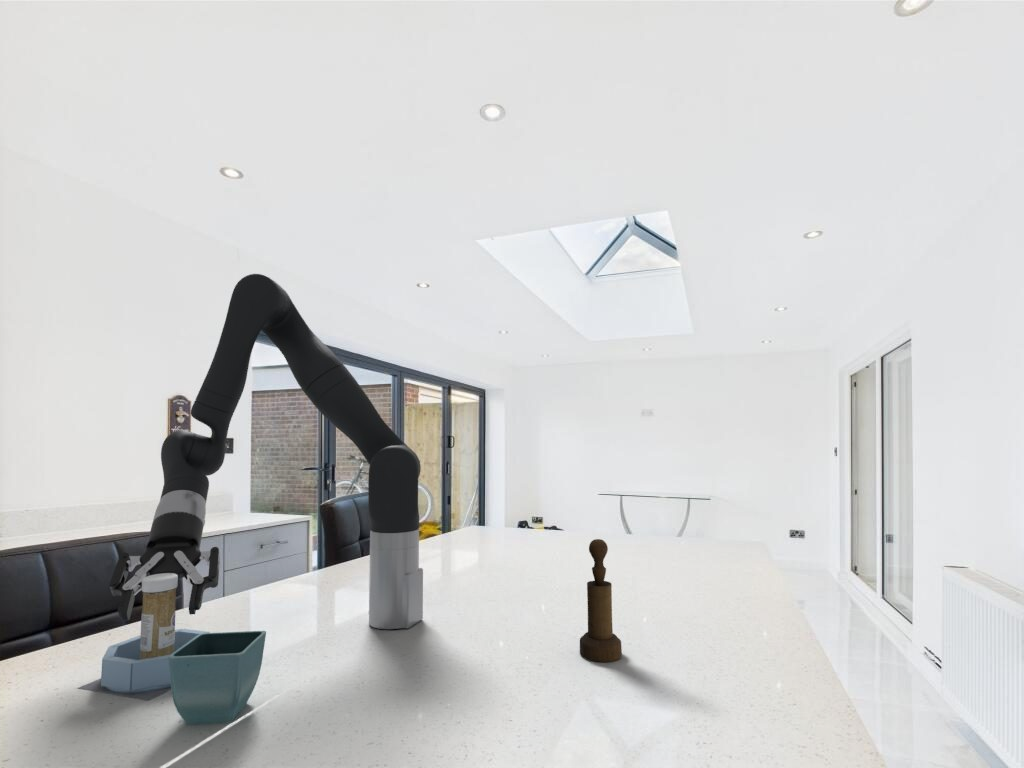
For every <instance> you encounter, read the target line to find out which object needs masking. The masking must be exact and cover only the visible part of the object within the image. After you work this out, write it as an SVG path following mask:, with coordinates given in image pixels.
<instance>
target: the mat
mask: <svg viewBox="0 0 1024 768" xmlns="http://www.w3.org/2000/svg"><path fill="white" fill-rule="evenodd" d="M77 689H80V690H86V691H91V692H95V693H96V692H97V693H100V694H101V693H103V694H106V695H107V694H109V695H113V696H119V697H124V698H131V699H137V700H142V701H151V700H153V699H155V698H157V697H160V696H161V695H164V694H165V693H167V692H170V691H171V687H169V688H165V689H161V690H155V691H150V692H142V693H116V692H112V691H109V690H107V689H106V688H105V687H104V686H101V678H99V679H95V680H94V681H90V682H89V683H87V684H84V685H81V686H79V687H77Z"/></svg>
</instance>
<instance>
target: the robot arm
mask: <svg viewBox="0 0 1024 768" xmlns="http://www.w3.org/2000/svg"><path fill="white" fill-rule="evenodd" d="M231 293H232V294H231V296H230V301H229V303H228V304H229V305H228V308H227V312H226V317H225V321H224V323H223V328H222V329H221V330H222V331H221V334H220V338H219V341H218V344H217V347H216V350H215V353H214V356H213V359H212V361H211V364H210V366H209V369H208V370H207V373H206V375H205V378H204V380H203V382H202V384H201V387H200V389H199V391H198V393H197V396H195V400H194V401H193V404H192V406H191V409H190V416H191V418H193V419H195V420H196V421H197V422H200V423H202V424H204V425H206V426H208V428H209V429H211V430H210V431H211V435H210V437H209V436H205V435H202V434H198V433H195V432H192V431H189V430H183V429H180V430H175V431H173V432H171V433H170V434H168V435H167V436H166V438H165V439H164V441H163V443H162V445H161V449H160V461H161V467H162V473H163V488H162V490H161V491H162V492H161V495H160V499H159V502H158V504H157V506H156V509H155V512H154V516H153V520H152V522H151V523H152V524H151V528H150V531H149V536H148V539H147V542H146V547H145V550H144V552H143V553H141V555H130V554H129V552H122V553H121V554H120V555H119V557H118V560H117V563H116V565H115V568H114V570H113V572H112V576H111V579H110V582H109V588H110V592H111V595H112V597H119V596H120V598H119V602H118V606H117V613H118V616H119V618H121V619H122V622H128V621H130V619H131V614H132V611H133V607H134V603H135V600H136V598H135V596H136V595H137V594H138V593H139V592H142V580H143V578H145V577H147V576H150V575H155V574H162V573H174V574H177V575H178V581H180V580H181V579H184V580H185V581H186V582H187V583H188V585H190V586H192V587H191V591H190V592H191V593H190V597H189V603H188V612H189V613H188V614H189V615H196V613H197V611H199V610H200V609H201V608H202V603H203V597H204V592H205V590H207V589H209V588H212V589H215V588H217V587H218V586H219V579H220V578H219V577H220V574H219V573H220V563H221V561H220V559H221V558H220V556H221V555H220V548H219V547H218V546H213V547H212V548H210V550H206V551H201V550H200V547H201V544H202V536H203V532H204V527H205V525H206V511H207V510H206V509H207V508H206V506H207V505H206V504H207V500H208V494H209V489H210V481H209V478H208V476H211V475H214V474H215V473H217V472H218V471H219V470H220V469H221V467H222V466H223V464H224V461H225V456H226V449H227V448H226V445H227V437H228V432H229V427H230V423H231V421H232V417H233V415H234V413H235V411H236V409H237V407H238V404H239V402H240V399H241V397H242V395H243V391H244V390H245V386H246V383H247V377H248V371H249V365H250V360H251V355H252V352H253V349H254V345H255V343H256V341H257V340H258V339H257V338H258V336H259V335H260V333H261V332H262V333H263V334H264V335H265V336H267V338H268V339H269V340H270V341H271V342H272V343H273V344H274V346H275V347H276V348H277V349H278V350H279V351H280V352H281V354H282V355H283V357H284V358H285V359H284V360H285V361H286V363H287V365H288V367H289V368H290V369H289V370H290V371H291V373H292V375H293V377H294V379H295V380H296V383H297V384H298V385H299V387H300V388H301V389H300V390H302V392H303V393H304V394H305V395H306V397H307V398H308V400H309V401H310V402H311V403H312V404H313V405H314V407H315V408H316V409H317V410H318V411H319V412H320V413H321V414H322V415H323V417H325V419H327V420H328V422H330V423H331V424H332V425H333V426H334V427H335V428H337V429H338V430H339V431H340V432H341V433H342V434H343V435H345V436H346V438H348V439H349V440H350V441H352V442H353V445H355V446H356V448H357V449H358V450H359V452H361V454H362V456H363V457H364V458H365V460H366V462H367V463H368V465H369V468H368V482H367V483H368V484H367V485H368V495H367V496H368V516H369V524H370V526H369V528H370V532H369V581H368V582H369V584H368V590H369V591H368V592H369V593H368V624H369V626H370V627H372V628H375V629H381V630H394V629H395V630H396V629H397V630H398V629H409V628H411V627H413V626H414V625H416V624H417V623H418V622H420V621H421V620H423V619H424V617H423V616H424V612H423V611H424V609H423V608H424V607H423V606H424V605H423V604H424V569H423V568H422V567H420V561H419V560H420V514H419V513H420V512H419V477H420V475H421V472H422V471H421V461H420V459H419V457H418V455H417V454H416V452H415V451H414V450H413V449H412V448H410V447H409V446H408V445H407V444H406V443H405V442H404V441H403V440H402V439H401V437H399V436H398V435H397V434H396V433H395V431H393V430H392V429H391V427H390V426H388V424H387V422H385V421H384V419H383V418H382V417H381V415H380V414H379V412H378V411H377V408H375V406H374V404H373V402H372V401H371V399H370V398H369V396H368V395H367V394H366V392H365V391H364V389H363V388H362V386H360V384H359V382H358V381H357V379H356V378H355V377H354V376H353V375H352V373H351V372H350V371H349V369H348V368H347V367H346V366H345V365H344V363H343V362H342V361H341V360H340V359H339V357H337V355H336V354H335V353H334V352H333V351H332V350H331V349H330V348H329V346H327V344H326V343H324V342H323V341H322V340H321V339H320V337H318V336H317V335H316V334H315V333H314V332H313V331H312V329H311V328H310V327H309V325H308V324H307V323H306V321H305V320H304V318H303V316H302V315H301V314H300V312H299V310H298V309H297V307H296V306H295V304H294V303H293V301H292V299H291V297H290V295H289V294H288V293H287V291H286V290H285V289H284V288H283V286H281V285H280V284H279V283H278V282H276V281H275V280H274V279H273V278H271V277H270V276H268V275H265V274H262V273H250V274H248V275H245V276H244V277H242V278H241V279H240V280H238V281H237V283H236V285H235V286H234V288H233V291H232V292H231ZM201 561H204V563H205V565H207V566H209V567H208V575H207V576H206V575H205V576H204V577H203V576H202V575H201V574H200V573H199V571H198V570H197V568H196V566H198V565H199V564H200V562H201ZM139 565H140V568H139V569H137V571H136V572H135V573H134V574H133V576H132V577H131V578H130V579H129V580H128V581H127V582H126V580H127V579H128V575H129V572H130V573H131V572H133V570H134V569H135V567H136V566H139Z"/></svg>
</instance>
